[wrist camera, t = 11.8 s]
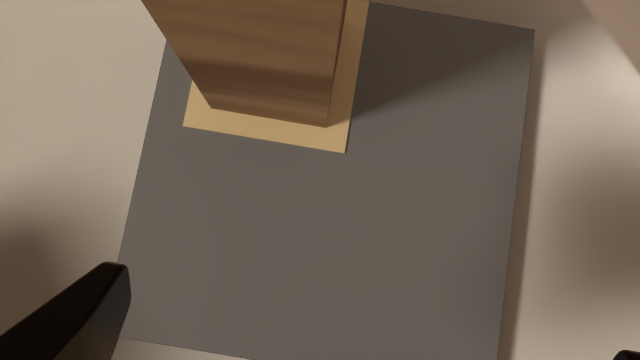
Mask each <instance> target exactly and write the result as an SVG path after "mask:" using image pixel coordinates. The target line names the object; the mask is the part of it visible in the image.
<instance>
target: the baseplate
mask: <svg viewBox="0 0 640 360" xmlns="http://www.w3.org/2000/svg"><path fill="white" fill-rule="evenodd" d="M534 31H535V30H532V29H526V28H520V27H515V26H509V25H503V24H497V23H491V22H485V21H479V20H473V19H467V18H461V17H455V16H449V15H443V14H437V13H431V12H425V11H420V10H414V9H408V8H402V7H396V6H390V5H384V4H378V3H372V2H369V1H367V0H347V6H346V13H345V20H344V25H343V31H342V37H341V43H340V49H339V54H338V60H337V66H336V72H335V78H334V84H333V89H332V95H331V101H330V107H329V113H328V118H327V124H326V128H323V127H317V126H311V125H305V124H299V123H293V122H287V121H282V120H276V119H270V118H264V117H258V116H252V115H246V114H240V113H235V112H229V111H223V110H217V109H211V108H210V106H209V105H208V103H207V101H206V100H205V98H204V97H203V95H202V94H201V92H200V91H199V89H198V88H197V86H196V84H195V83H194V81H193V80H192V78H191V77H190V75H189V74H188V72H187V70H186V69H185V67H184V66H183V64H182V63H181V61H180V60H179V58H178V56H177V55H176V53H175V52H174V50H173V49H172V47H171V46H170V44H169V43H168V41H167V40H166V44H165V49H164V54H163V58H162V63H161V67H160V72H159V76H158V81H157V85H156V90H155V94H154V99H153V103H152V108H151V112H150V117H149V121H148V126H147V130H146V135H145V140H144V144H143V149H142V153H141V158H140V162H139V167H138V171H137V176H136V180H135V185H134V189H133V194H132V198H131V203H130V207H129V212H128V216H127V221H126V226H125V230H124V235H123V239H122V244H121V248H120V253H119V257H118V262H117V263H120V264H124V265H126V266H127V267H128V270H129V277H130V286H131V303H130V307H129V310H128V313H127V316H126V318H125V321H124V324H123V327H122V330H121V332H120V335H119V337H121V338H127V339H133V340H139V341H145V342H151V343H157V344H163V345H168V346H174V347H180V348H186V349H192V350H198V351H204V352H210V353H216V354H221V355H227V356H233V357H239V358H245V359H251V360H497V354H498V346H499V337H500V328H501V319H502V311H503V302H504V293H505V285H506V276H507V267H508V258H509V250H510V241H511V232H512V223H513V215H514V206H515V197H516V188H517V180H518V171H519V162H520V153H521V145H522V136H523V127H524V119H525V110H526V101H527V92H528V84H529V75H530V66H531V57H532V49H533V40H534Z"/></svg>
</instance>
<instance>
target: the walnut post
mask: <svg viewBox="0 0 640 360" xmlns="http://www.w3.org/2000/svg"><path fill="white" fill-rule="evenodd" d="M141 1H142V2H143V4H144V5H145V7H146V8H147V10H148V11H149V13H150V15H151V16H152V18H153V19H154V21H155V22H156V24H157V25H158V27H159V29H160V30H161V32H162V33H163V35H164V36H165V38H166V39H167V41H168V43H169V44H170V46H171V47H172V49H173V50H174V52H175V53H176V55H177V56H178V58H179V60H180V61H181V63H182V64H183V66H184V67H185V69H186V70H187V72H188V74H189V75H190V77H191V78H192V80H193V81H194V83H195V84H196V86H197V88H198V89H199V91H200V92H201V94H202V95H203V97H204V98H205V100H206V101H207V103H208V105H209V106H210V108H211V109H217V110H223V111H229V112H235V113H240V114H246V115H252V116H258V117H264V118H270V119H276V120H282V121H287V122H293V123H299V124H305V125H311V126H317V127H323V128H326V124H327V118H328V113H329V107H330V101H331V95H332V89H333V84H334V78H335V72H336V66H337V60H338V54H339V49H340V43H341V37H342V31H343V25H344V20H345V13H346V6H347V0H141Z"/></svg>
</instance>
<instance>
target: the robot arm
mask: <svg viewBox="0 0 640 360" xmlns="http://www.w3.org/2000/svg"><path fill="white" fill-rule="evenodd" d="M130 303H131V286H130V277H129V270H128V267H127V266H126V265H124V264H120V263H114V262H103V263H101V264H99V265H98V266H96V267H95V268H94V269H92V270H91V271H90V272H88V273H87V274H85V275H84V276H83V277H81V278H80V279H78V280H77V281H76V282H74V283H73V284H71V285H70V286H69V287H67V288H66V289H64V290H63V291H62V292H60V293H59V294H57V295H56V296H55V297H53V298H52V299H51V300H49V301H48V302H46V303H45V304H44V305H42V306H41V307H39V308H38V309H37V310H35V311H34V312H32V313H31V314H30V315H28V316H27V317H25V318H24V319H23V320H21V321H20V322H18V323H17V324H16V325H14V326H13V327H12V328H10V329H9V330H7V331H6V332H5V333H3V334H2V335H0V360H111V358H112V355H113V352H114V349H115V346H116V344H117V341H118V338H119V335H120V332H121V330H122V327H123V324H124V321H125V318H126V316H127V313H128V310H129V307H130ZM613 360H640V352H636V351H630V350H622V351H620V352H618V353H617V355H616V356H615V357H614V359H613Z"/></svg>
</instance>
